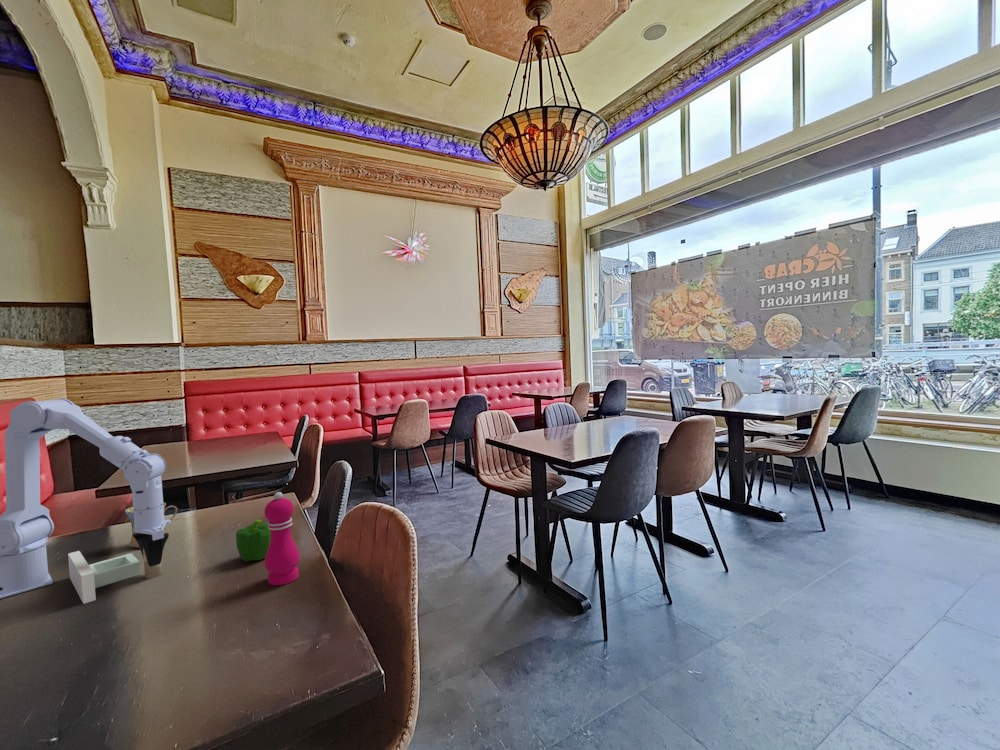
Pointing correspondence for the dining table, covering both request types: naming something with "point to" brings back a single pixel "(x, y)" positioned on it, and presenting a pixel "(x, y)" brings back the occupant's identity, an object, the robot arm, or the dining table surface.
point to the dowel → (151, 569)
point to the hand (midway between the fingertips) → (152, 562)
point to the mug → (131, 517)
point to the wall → (82, 577)
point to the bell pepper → (253, 541)
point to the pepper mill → (281, 542)
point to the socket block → (115, 569)
